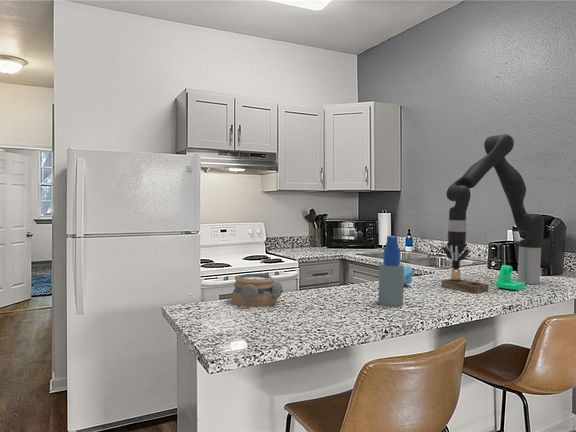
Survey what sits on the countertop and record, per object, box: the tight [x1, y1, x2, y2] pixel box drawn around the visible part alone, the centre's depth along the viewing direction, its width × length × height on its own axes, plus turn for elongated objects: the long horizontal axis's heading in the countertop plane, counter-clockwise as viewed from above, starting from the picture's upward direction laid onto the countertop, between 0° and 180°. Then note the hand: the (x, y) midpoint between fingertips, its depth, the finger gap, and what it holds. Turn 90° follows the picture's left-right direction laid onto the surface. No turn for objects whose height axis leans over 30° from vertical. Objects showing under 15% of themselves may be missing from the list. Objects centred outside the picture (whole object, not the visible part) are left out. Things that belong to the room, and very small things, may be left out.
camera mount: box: [495, 264, 526, 291], centre depth 187 cm, size 12×8×10 cm, turn 129°
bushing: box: [450, 268, 461, 282], centre depth 187 cm, size 4×4×8 cm
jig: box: [441, 278, 489, 295], centre depth 184 cm, size 10×16×3 cm, turn 36°
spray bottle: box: [377, 235, 405, 307], centre depth 155 cm, size 9×9×25 cm
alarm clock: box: [230, 273, 285, 308], centre depth 152 cm, size 17×9×23 cm
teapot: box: [381, 262, 416, 287], centre depth 190 cm, size 18×14×10 cm
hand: (455, 269), depth 187 cm, fingers closed
